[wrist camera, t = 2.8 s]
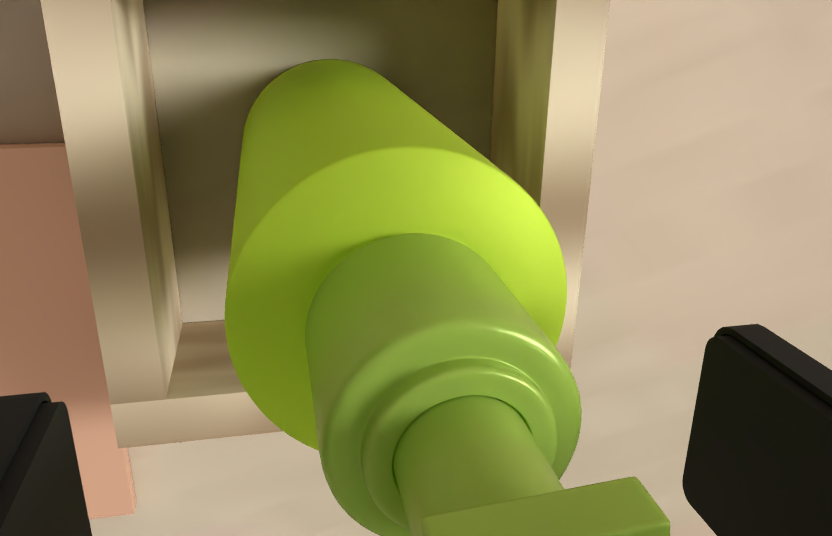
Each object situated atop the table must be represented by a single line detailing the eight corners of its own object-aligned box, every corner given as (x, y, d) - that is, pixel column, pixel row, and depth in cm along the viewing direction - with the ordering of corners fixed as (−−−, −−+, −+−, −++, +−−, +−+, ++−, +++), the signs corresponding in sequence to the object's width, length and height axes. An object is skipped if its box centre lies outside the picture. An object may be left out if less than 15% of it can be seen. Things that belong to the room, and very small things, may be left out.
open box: (78, -70, 20) (25, -83, 16) (546, -58, 23) (617, -67, 18) (143, 364, 25) (117, 448, 21) (517, 332, 28) (566, 401, 23)
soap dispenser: (260, 269, 25) (265, 1050, 7) (228, 67, 22) (93, 460, 4) (424, 248, 26) (811, 881, 8) (412, 51, 23) (962, 314, 5)
